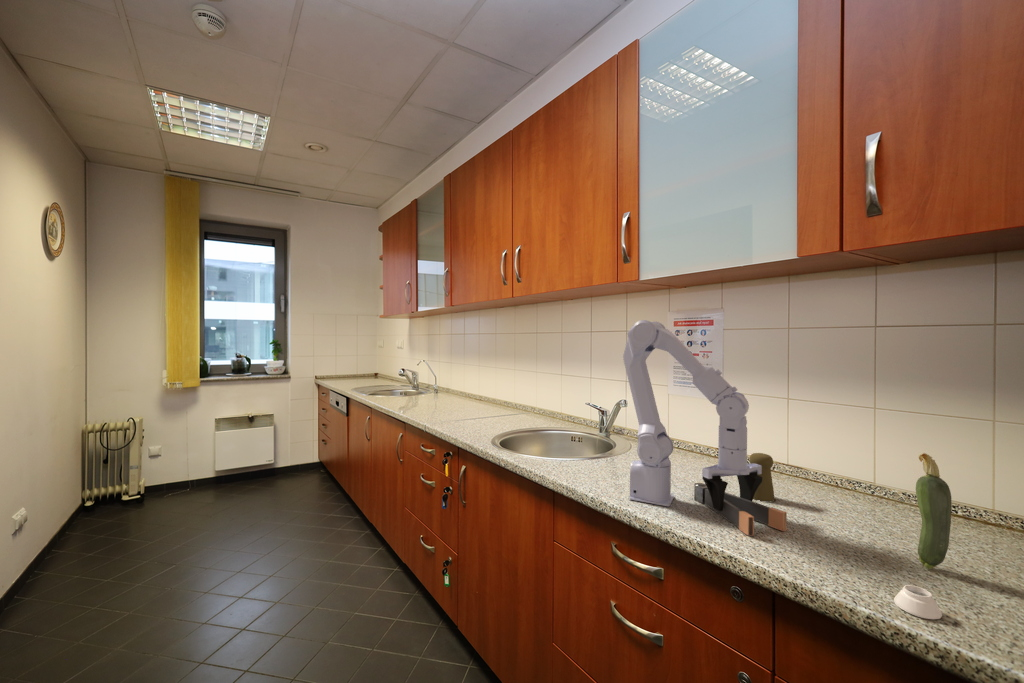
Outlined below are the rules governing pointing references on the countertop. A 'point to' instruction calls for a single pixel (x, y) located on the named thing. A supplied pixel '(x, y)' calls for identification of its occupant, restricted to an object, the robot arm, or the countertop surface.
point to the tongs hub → (699, 492)
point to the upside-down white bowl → (917, 602)
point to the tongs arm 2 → (760, 511)
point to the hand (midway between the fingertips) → (731, 507)
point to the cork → (763, 477)
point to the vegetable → (933, 514)
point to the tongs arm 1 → (734, 515)
